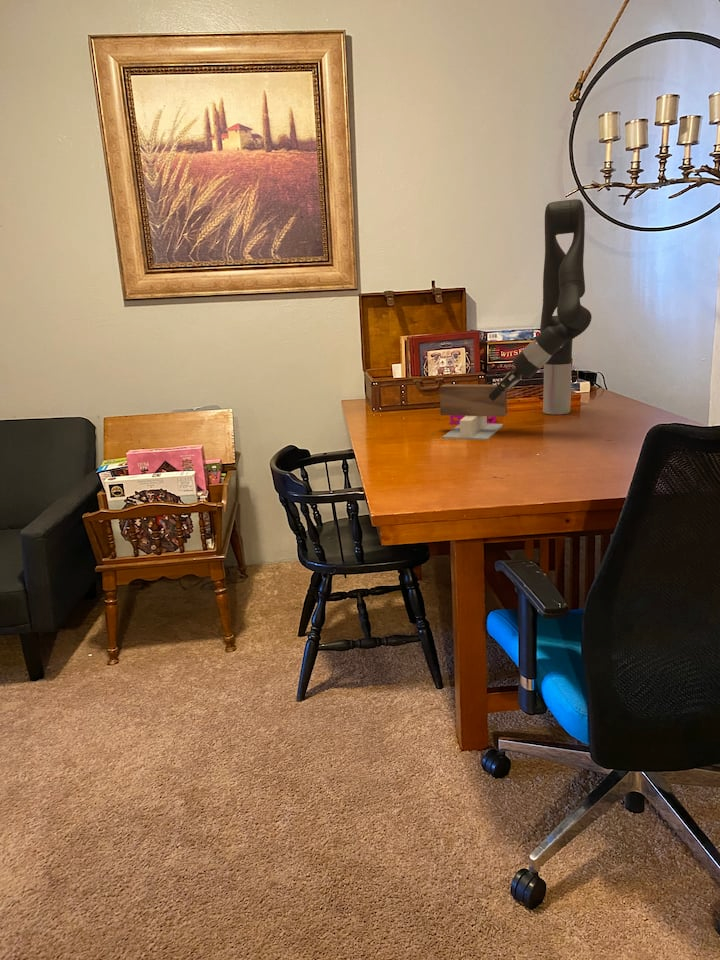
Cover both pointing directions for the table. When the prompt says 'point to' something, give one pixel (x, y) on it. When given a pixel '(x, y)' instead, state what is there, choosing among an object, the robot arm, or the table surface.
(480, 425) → the fulcrum
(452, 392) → the beam
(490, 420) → the magenta curved piece
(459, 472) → the table surface
